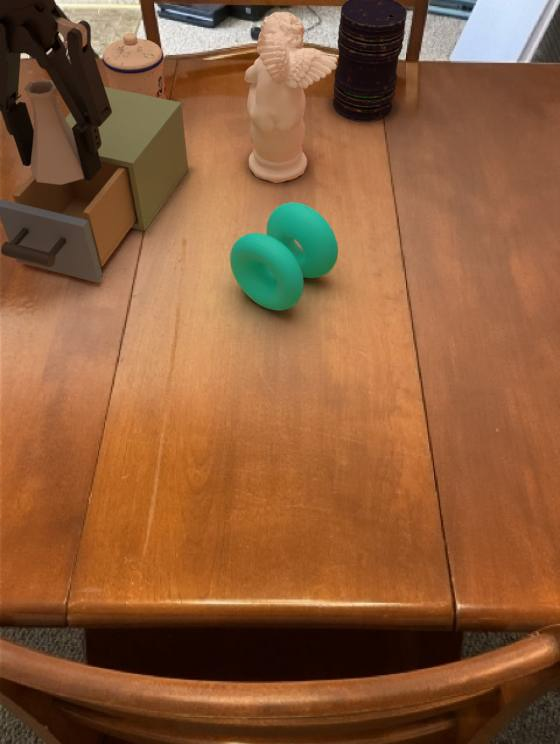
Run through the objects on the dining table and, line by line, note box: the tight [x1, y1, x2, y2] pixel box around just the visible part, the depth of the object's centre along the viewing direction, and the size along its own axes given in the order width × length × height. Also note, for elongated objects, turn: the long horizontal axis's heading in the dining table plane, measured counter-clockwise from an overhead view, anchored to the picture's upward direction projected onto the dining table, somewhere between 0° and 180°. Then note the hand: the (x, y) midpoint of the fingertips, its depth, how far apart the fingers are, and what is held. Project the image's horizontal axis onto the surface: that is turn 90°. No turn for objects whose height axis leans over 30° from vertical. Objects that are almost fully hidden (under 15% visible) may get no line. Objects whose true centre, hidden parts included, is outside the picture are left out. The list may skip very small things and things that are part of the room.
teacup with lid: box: [101, 32, 168, 100], centre depth 105 cm, size 12×9×12 cm
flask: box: [24, 78, 84, 185], centre depth 75 cm, size 7×7×10 cm
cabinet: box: [64, 86, 189, 232], centre depth 92 cm, size 15×13×11 cm
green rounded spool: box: [229, 202, 339, 311], centre depth 81 cm, size 10×10×10 cm
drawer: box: [0, 161, 137, 284], centre depth 83 cm, size 18×11×9 cm, turn 161°
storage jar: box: [332, 0, 408, 123], centre depth 105 cm, size 10×10×15 cm
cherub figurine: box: [244, 11, 338, 184], centre depth 91 cm, size 12×12×22 cm
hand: (62, 166), depth 79 cm, fingers closed on flask, 7 cm apart
